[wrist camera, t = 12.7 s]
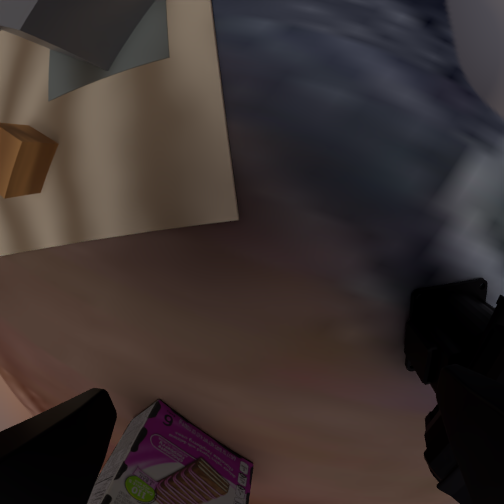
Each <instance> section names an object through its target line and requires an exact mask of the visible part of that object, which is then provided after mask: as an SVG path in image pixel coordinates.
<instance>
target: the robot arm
mask: <svg viewBox="0 0 504 504" xmlns="http://www.w3.org/2000/svg"><path fill="white" fill-rule="evenodd" d="M481 284H482V286H481V287H480V285H481ZM419 294H421V297H420V298H419V299H416V298H417V296H418V295H419ZM486 294H487V281H486V280H484V279H483V278H478V279H473V280H467V281H462V282H456V283H450V284H444V285H438V286H432V287H426V288H420V289H416V290H414V291H413V293H412V295H411V309H410V319H409V320H408V322H407V326H406V338H405V348H404V353H405V354H406V363H405V366H406V368H407V370H408V371H416V373H417V374H418V376H419V378H420V379H421V381H422V382H423V383H424V384H425V385H426V384H430V385H431V386H432V388H433V390H434V391H435V393H436V399H437V403H438V404H437V405H436V407H435V408H434V409H433V411H430V412H429V414H428V415H427V416H426V418H425V426H426V431H425V435H424V436H425V442H426V447H427V449H426V450H425V451H424V458H425V460H426V462H427V464H428V466H429V469H430V471H431V473H432V474H433V476H434V477H435V478H436V479H437V480H438V482H439V483H438V484H437V488H438V489H439V490H441V491H443V492H444V493H446V494H448V495H450V496H451V497H453V498H454V499H455V500H456V501H457V502H459V503H460V504H504V296H502V295H500V296H499V298H498V300H497V302H496V304H497V306H496V308H494V307H492V306H491V305H490V304H488V303H487V302H486ZM411 364H412V366H410V365H411ZM116 418H117V413H116V409H115V407H114V405H113V403H112V401H111V398H110V396H109V394H108V392H107V391H106V390H104V389H98V388H92V389H90V390H88V391H86V392H84V393H82V394H80V395H78V396H76V397H74V398H72V399H70V400H68V401H66V402H64V403H61V404H59V405H57V406H55V407H53V408H51V409H49V410H47V411H45V412H43V413H40V414H38V415H36V416H34V417H32V418H30V419H27V420H25V421H23V422H21V423H19V424H17V425H14V426H12V427H10V428H8V429H5V430H3V431H1V432H0V504H87V503H88V500H89V498H90V495H91V492H92V490H93V487H94V485H95V482H96V480H97V477H98V475H99V472H100V470H101V467H102V465H103V462H104V459H105V456H106V453H107V449H108V446H109V442H110V439H111V435H112V432H113V429H114V425H115V422H116Z"/></svg>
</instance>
